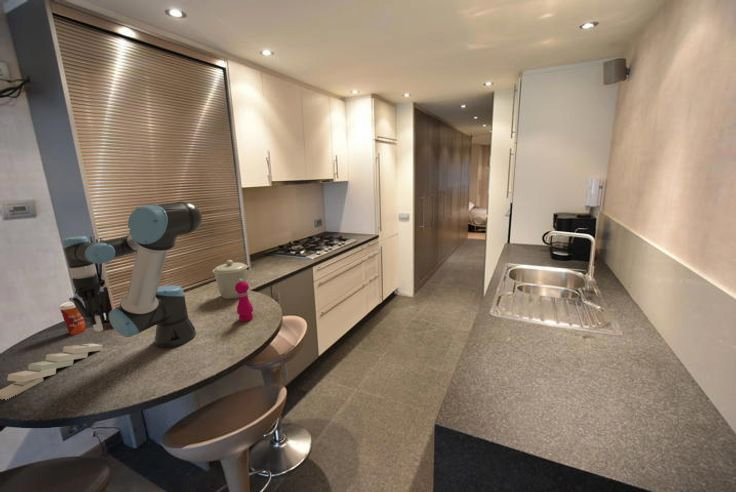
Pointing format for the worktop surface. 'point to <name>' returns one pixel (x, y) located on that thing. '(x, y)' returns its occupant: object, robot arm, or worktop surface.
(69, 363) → the domino
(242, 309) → the pepper mill
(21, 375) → the domino
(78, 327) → the paper cup
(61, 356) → the domino
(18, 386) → the domino
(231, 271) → the canister
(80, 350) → the domino
